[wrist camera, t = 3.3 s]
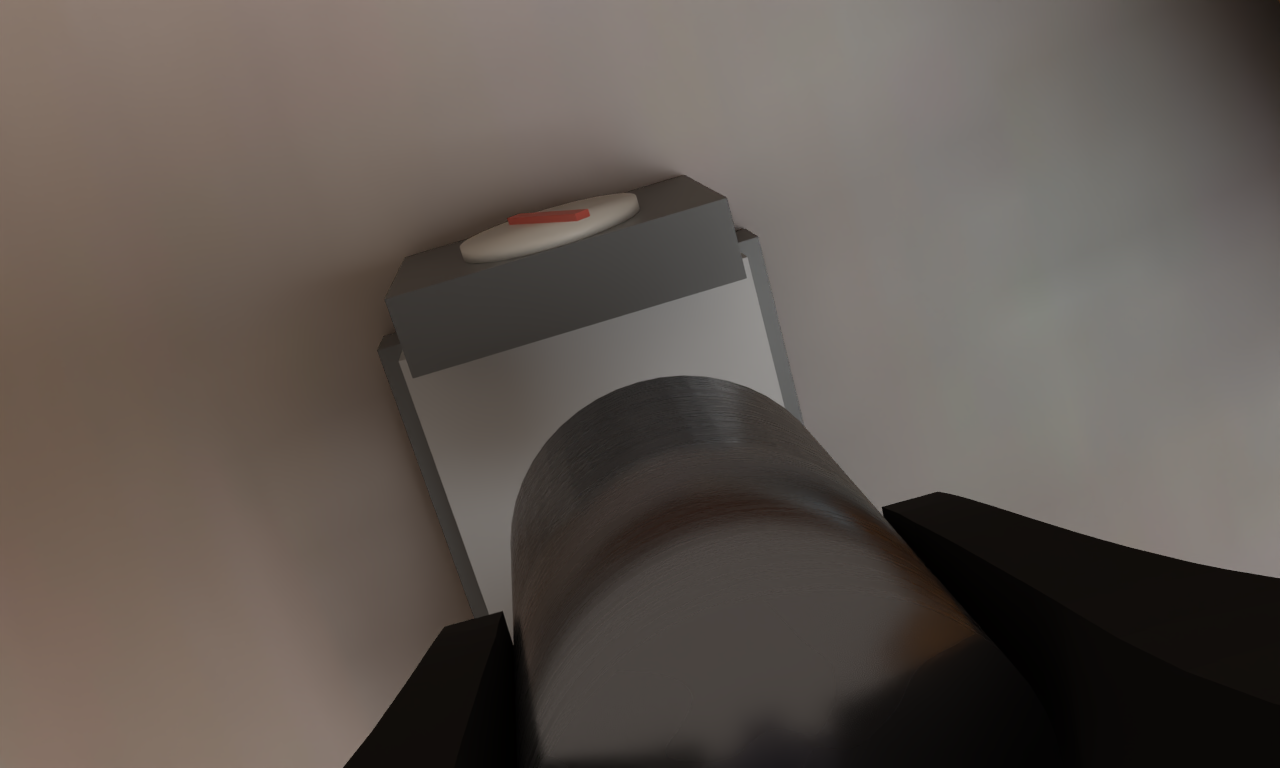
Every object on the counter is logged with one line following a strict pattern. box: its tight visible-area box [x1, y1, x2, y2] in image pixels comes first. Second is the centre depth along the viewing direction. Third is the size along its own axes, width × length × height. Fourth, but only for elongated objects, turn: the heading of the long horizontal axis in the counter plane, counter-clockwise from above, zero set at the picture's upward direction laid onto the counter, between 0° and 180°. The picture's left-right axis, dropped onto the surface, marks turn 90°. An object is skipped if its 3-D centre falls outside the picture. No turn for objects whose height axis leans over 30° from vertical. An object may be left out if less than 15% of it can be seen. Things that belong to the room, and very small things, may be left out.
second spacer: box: [510, 375, 1063, 768], centre depth 10 cm, size 4×4×6 cm
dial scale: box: [377, 175, 804, 646], centre depth 18 cm, size 11×7×4 cm, turn 15°
